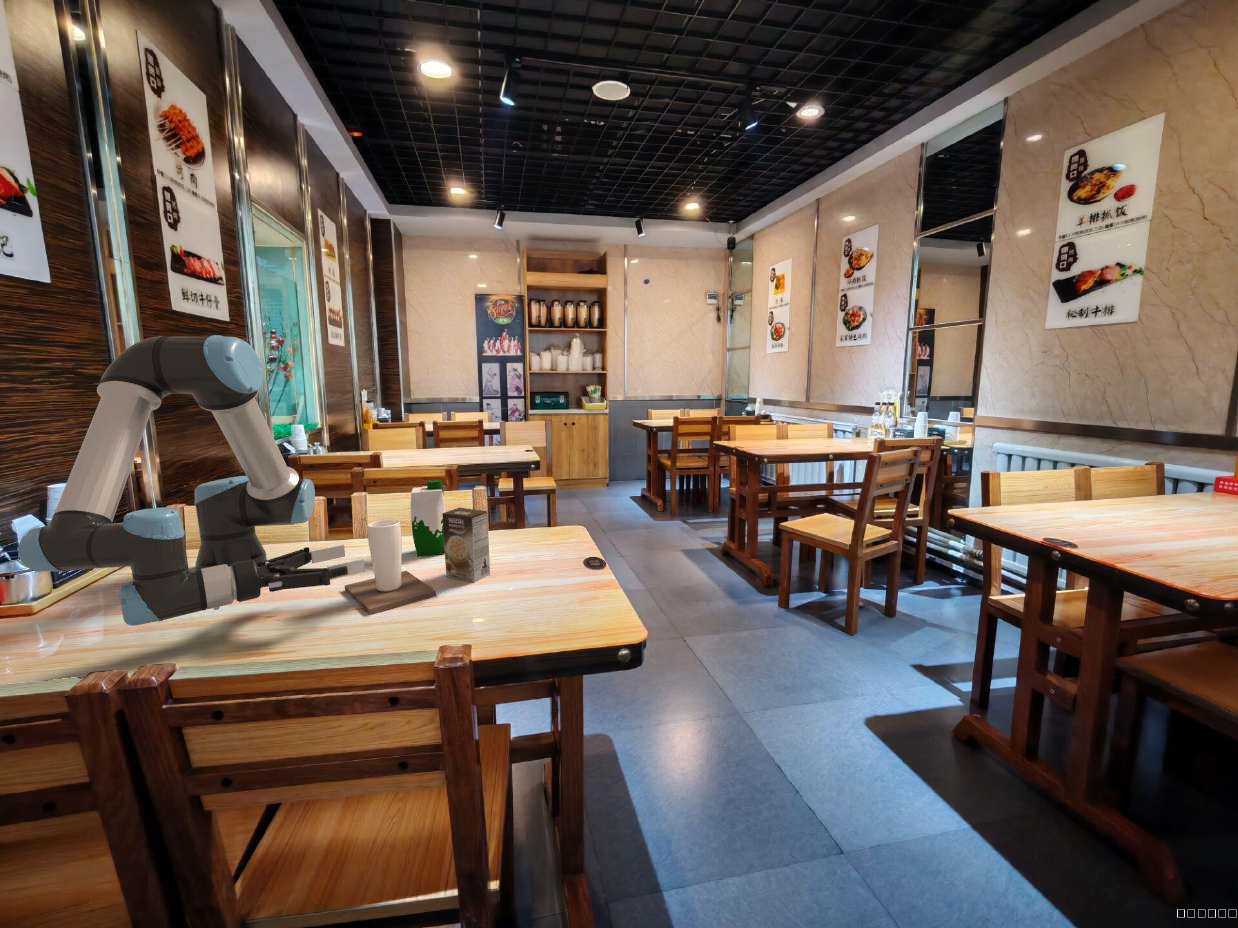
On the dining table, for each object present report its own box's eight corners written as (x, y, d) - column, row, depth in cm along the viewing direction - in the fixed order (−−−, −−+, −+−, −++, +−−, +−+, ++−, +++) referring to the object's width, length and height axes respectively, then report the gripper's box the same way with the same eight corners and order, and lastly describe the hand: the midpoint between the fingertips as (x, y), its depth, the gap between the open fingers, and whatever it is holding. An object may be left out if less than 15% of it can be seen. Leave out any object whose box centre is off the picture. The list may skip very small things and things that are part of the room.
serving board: (345, 590, 124) (344, 585, 123) (406, 575, 133) (406, 570, 132) (369, 614, 110) (369, 609, 110) (436, 595, 119) (436, 590, 119)
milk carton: (448, 554, 148) (443, 483, 145) (413, 558, 145) (407, 485, 142) (448, 545, 156) (443, 477, 153) (415, 549, 154) (409, 479, 151)
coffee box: (444, 577, 131) (440, 512, 128) (462, 569, 136) (458, 507, 134) (474, 582, 127) (470, 516, 124) (492, 573, 133) (488, 510, 130)
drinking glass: (393, 594, 117) (387, 527, 115) (366, 592, 119) (359, 526, 116) (411, 583, 124) (406, 519, 121) (385, 581, 125) (379, 518, 123)
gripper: (226, 584, 111) (338, 560, 125) (245, 623, 93) (374, 590, 107) (221, 549, 110) (335, 529, 124) (239, 581, 91) (370, 553, 105)
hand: (353, 557), depth 115 cm, fingers open, 13 cm apart
